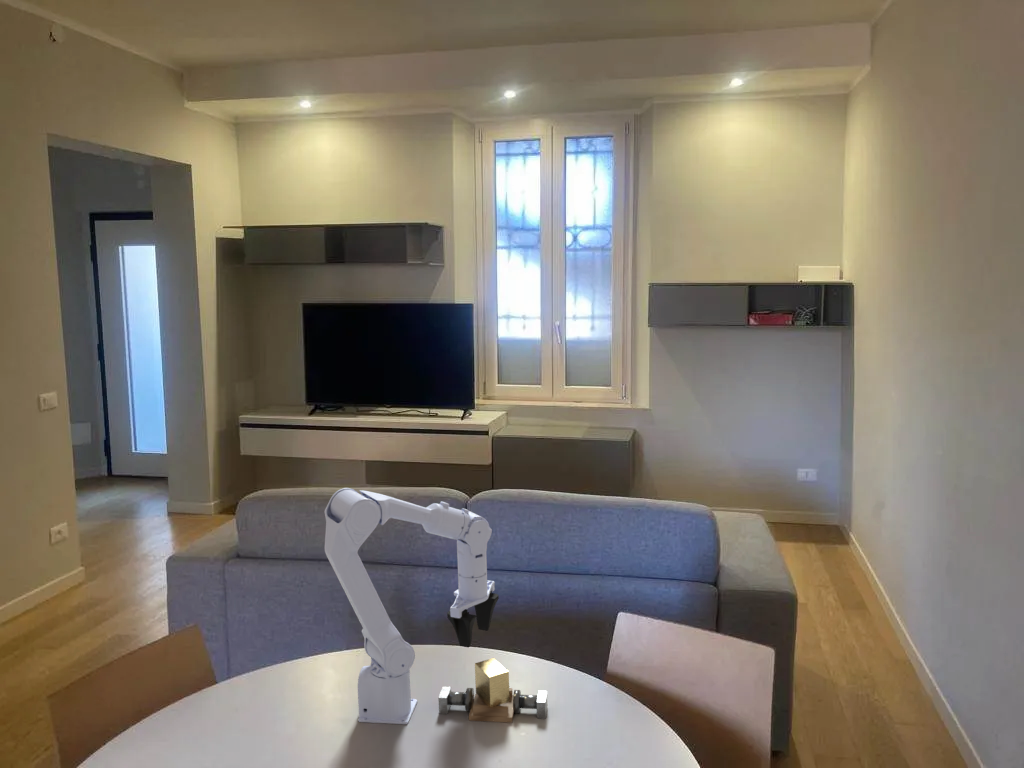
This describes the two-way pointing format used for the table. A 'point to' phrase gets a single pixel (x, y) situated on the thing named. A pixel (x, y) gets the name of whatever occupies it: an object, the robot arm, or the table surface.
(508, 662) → the table surface
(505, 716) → the shaft stand
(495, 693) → the block
